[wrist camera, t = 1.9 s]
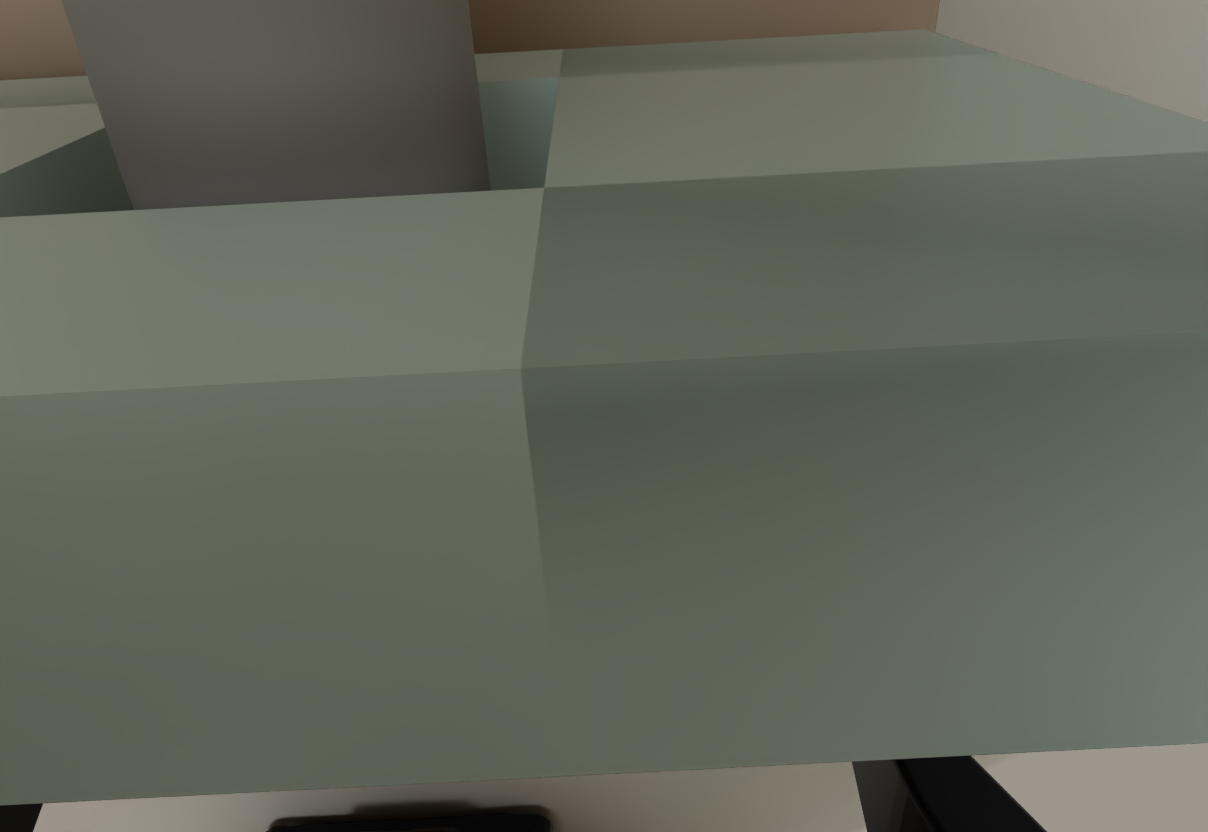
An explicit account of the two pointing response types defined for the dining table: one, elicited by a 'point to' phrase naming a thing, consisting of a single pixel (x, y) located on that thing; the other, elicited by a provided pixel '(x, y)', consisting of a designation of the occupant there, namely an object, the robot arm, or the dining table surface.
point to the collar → (614, 434)
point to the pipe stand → (345, 80)
